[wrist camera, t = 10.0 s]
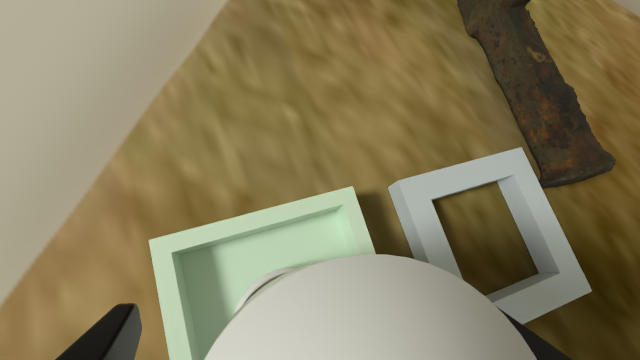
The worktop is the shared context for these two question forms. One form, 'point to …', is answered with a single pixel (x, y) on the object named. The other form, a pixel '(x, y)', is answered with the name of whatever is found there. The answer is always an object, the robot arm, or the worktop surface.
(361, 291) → the mushroom-shaped knob
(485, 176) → the rectangular open frame
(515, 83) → the hand tool
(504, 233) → the worktop surface
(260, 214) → the parts tray
